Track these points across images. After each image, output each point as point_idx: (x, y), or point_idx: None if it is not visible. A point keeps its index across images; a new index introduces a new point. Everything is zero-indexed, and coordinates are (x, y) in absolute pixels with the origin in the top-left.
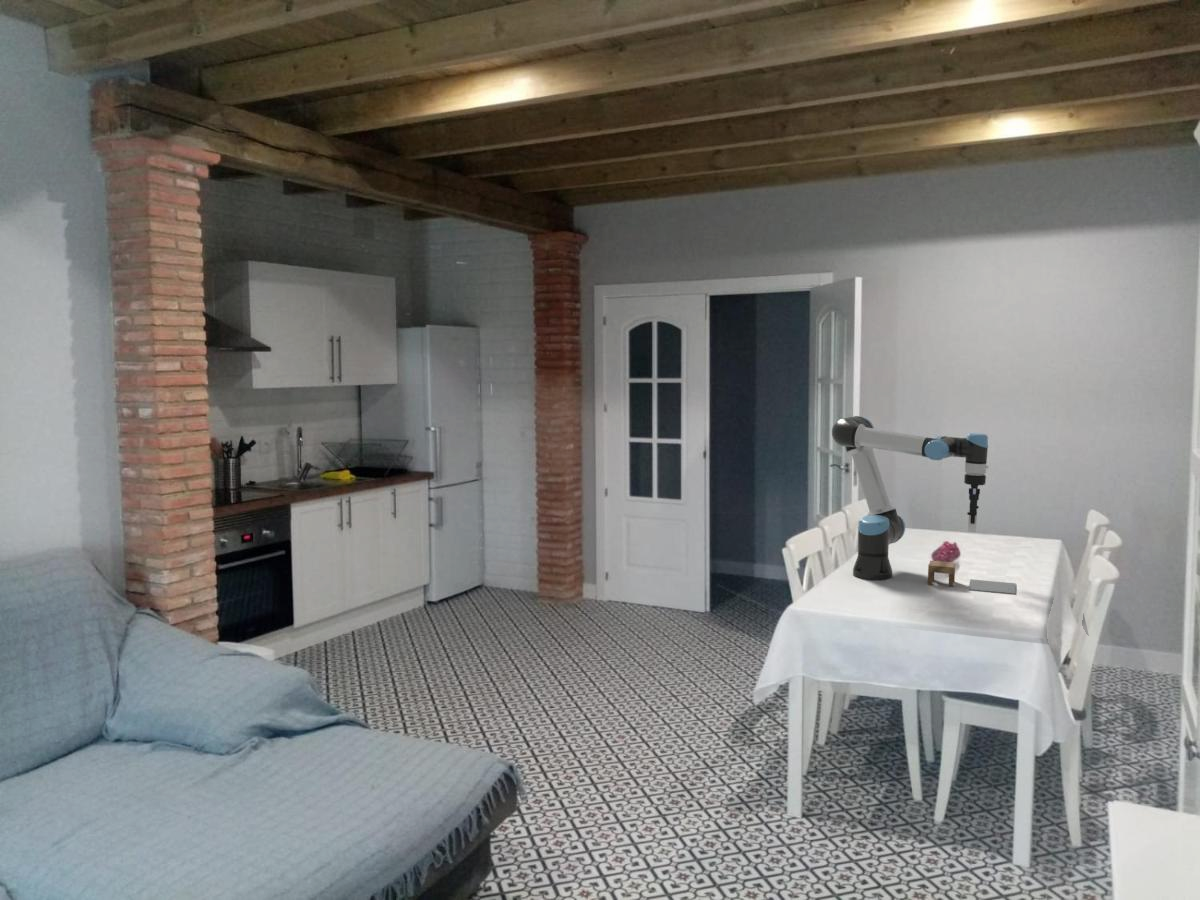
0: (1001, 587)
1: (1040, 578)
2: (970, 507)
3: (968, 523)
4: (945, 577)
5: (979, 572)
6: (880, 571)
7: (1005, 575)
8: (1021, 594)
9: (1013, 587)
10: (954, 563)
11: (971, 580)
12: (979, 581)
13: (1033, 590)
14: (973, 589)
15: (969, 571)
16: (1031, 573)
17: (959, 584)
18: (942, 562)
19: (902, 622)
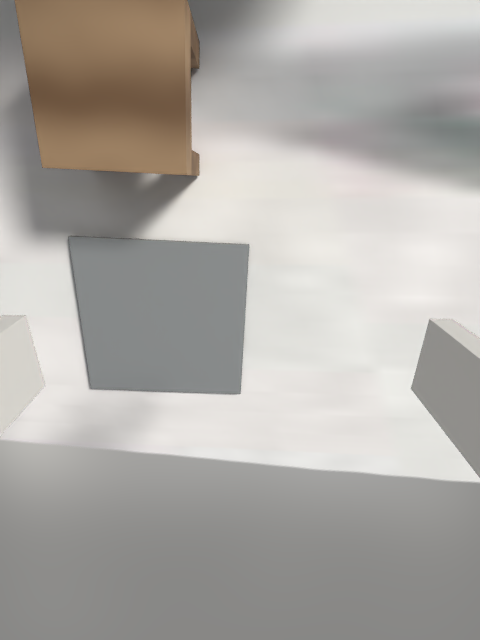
0: (156, 351)
1: (359, 456)
2: None
3: (440, 328)
4: (281, 129)
5: (416, 280)
6: None
7: (380, 366)
8: (112, 401)
9: (175, 386)
10: (158, 171)
11: (228, 249)
12: (222, 280)
13: (184, 432)
14: (71, 256)
15: (429, 240)
16: (427, 438)
17: (165, 198)
18: (155, 89)
19: None
